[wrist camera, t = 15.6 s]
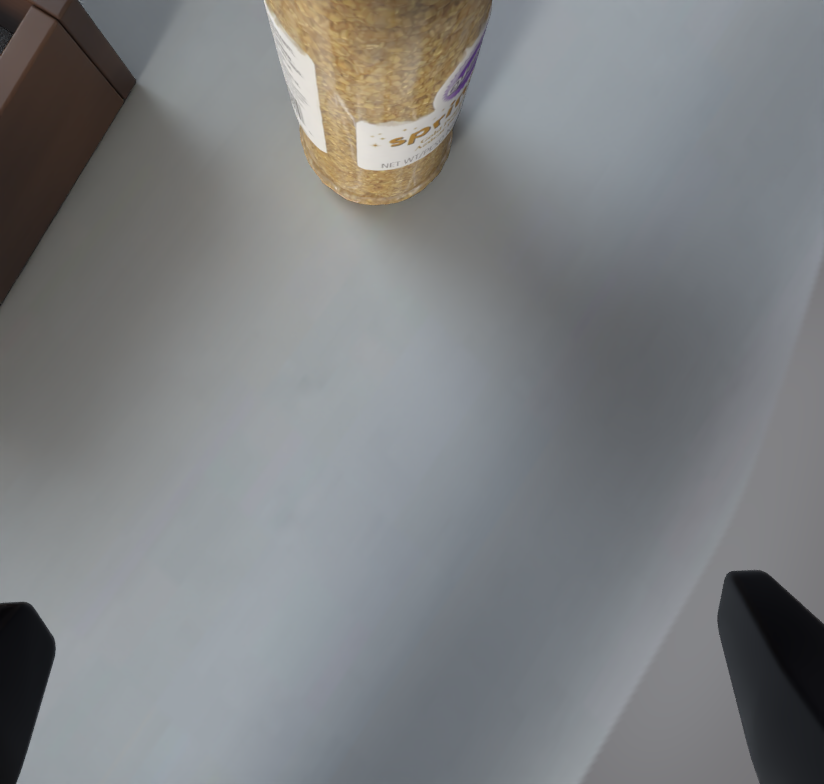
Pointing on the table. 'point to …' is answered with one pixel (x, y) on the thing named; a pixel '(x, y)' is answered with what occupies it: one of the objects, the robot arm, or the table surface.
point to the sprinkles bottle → (377, 87)
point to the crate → (49, 116)
